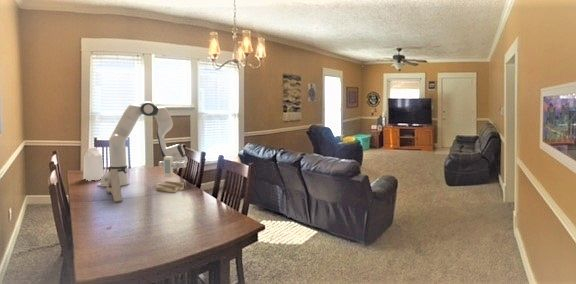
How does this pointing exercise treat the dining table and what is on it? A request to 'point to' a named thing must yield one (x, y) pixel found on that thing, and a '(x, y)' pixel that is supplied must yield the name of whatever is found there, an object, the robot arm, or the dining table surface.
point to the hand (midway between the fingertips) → (167, 165)
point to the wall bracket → (114, 185)
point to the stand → (170, 186)
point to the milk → (93, 165)
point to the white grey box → (168, 167)
